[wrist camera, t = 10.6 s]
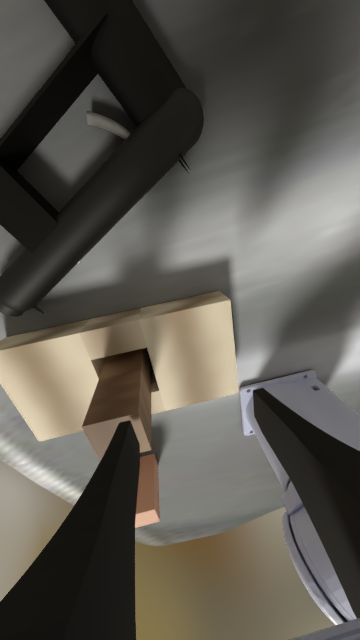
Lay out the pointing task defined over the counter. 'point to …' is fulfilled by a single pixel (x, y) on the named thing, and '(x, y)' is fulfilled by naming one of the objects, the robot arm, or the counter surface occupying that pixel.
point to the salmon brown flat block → (147, 492)
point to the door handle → (130, 157)
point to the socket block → (114, 338)
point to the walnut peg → (121, 401)
